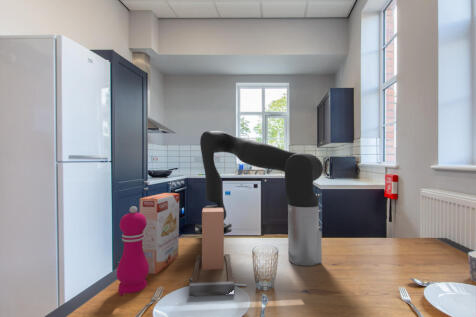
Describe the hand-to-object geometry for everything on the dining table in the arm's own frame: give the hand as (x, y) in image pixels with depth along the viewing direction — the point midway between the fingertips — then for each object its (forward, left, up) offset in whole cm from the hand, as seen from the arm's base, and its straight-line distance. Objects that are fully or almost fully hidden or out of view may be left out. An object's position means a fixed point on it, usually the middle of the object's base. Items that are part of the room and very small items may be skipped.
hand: (213, 235), depth 78 cm
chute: (0, +10, -8) cm, 13 cm away
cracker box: (+15, +1, -9) cm, 18 cm away
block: (0, +4, -7) cm, 8 cm away
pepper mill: (+19, +15, -8) cm, 26 cm away
